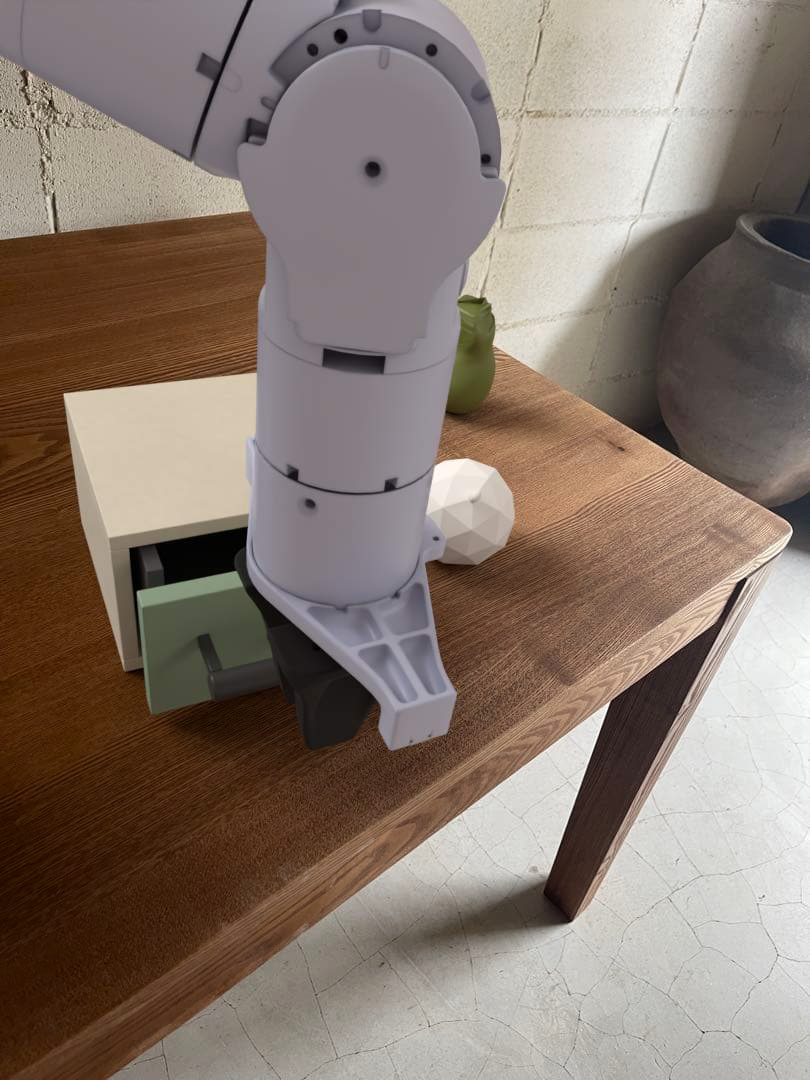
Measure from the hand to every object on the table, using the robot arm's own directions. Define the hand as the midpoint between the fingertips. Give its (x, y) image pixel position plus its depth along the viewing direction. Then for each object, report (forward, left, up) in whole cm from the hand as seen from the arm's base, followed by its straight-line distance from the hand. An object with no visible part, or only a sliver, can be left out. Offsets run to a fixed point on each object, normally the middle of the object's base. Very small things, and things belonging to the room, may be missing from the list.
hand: (318, 715), depth 36 cm
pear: (+26, +34, -10) cm, 44 cm away
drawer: (0, +13, -8) cm, 16 cm away
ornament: (+17, +17, -10) cm, 26 cm away
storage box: (0, +20, -9) cm, 22 cm away
